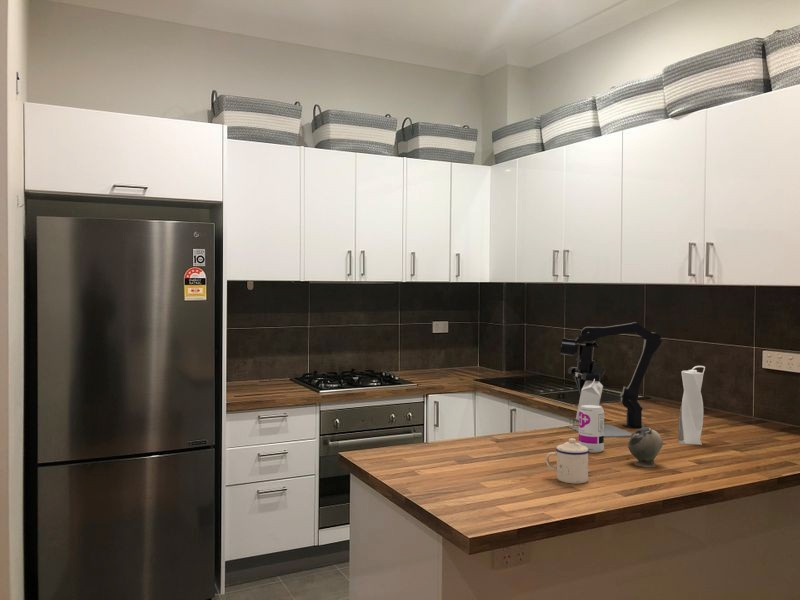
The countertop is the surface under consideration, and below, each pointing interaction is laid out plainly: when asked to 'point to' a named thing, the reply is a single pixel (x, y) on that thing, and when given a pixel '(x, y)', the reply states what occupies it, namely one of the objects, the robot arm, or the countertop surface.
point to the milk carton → (590, 394)
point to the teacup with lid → (571, 462)
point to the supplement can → (591, 427)
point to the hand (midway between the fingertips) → (581, 394)
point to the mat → (610, 431)
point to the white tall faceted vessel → (691, 408)
